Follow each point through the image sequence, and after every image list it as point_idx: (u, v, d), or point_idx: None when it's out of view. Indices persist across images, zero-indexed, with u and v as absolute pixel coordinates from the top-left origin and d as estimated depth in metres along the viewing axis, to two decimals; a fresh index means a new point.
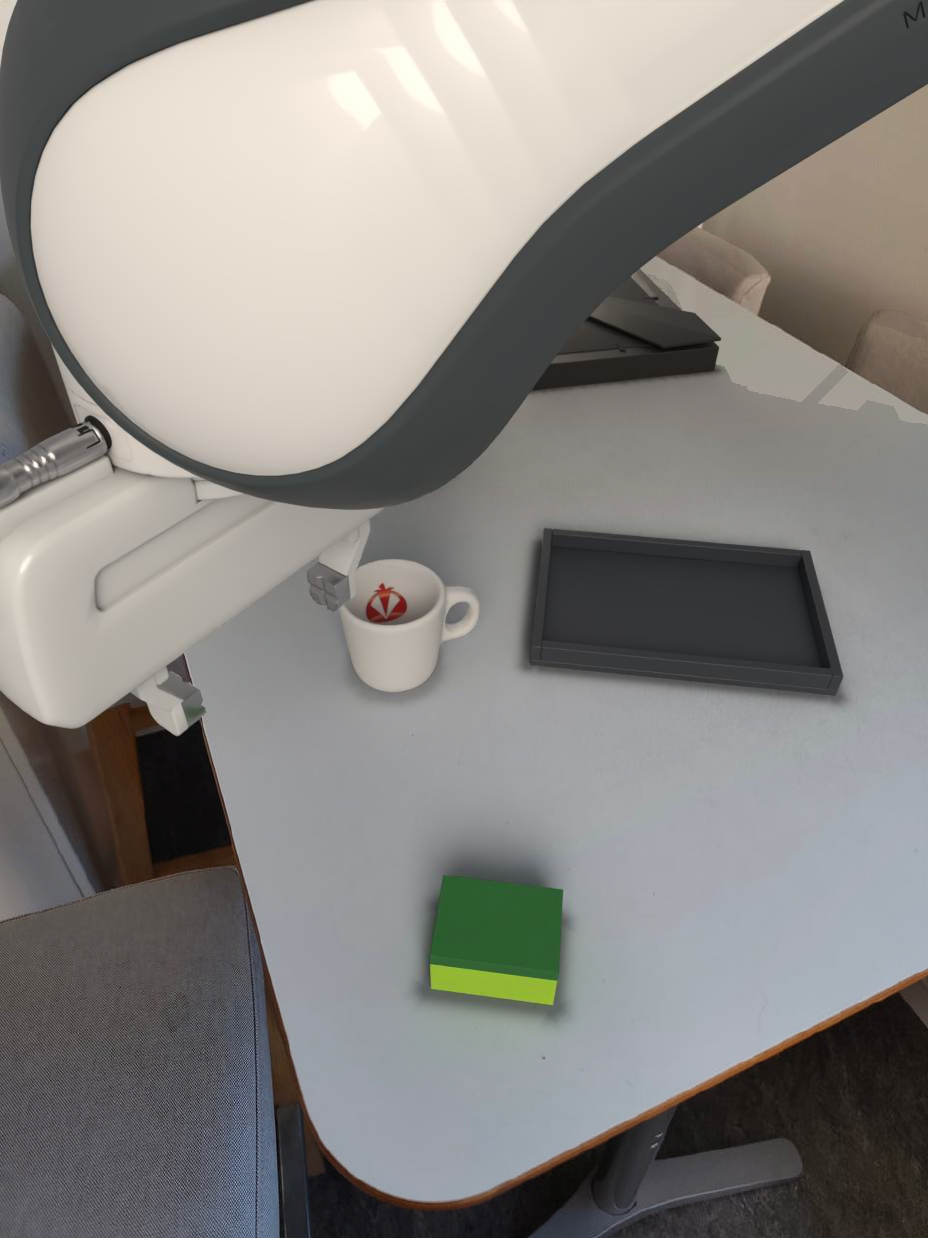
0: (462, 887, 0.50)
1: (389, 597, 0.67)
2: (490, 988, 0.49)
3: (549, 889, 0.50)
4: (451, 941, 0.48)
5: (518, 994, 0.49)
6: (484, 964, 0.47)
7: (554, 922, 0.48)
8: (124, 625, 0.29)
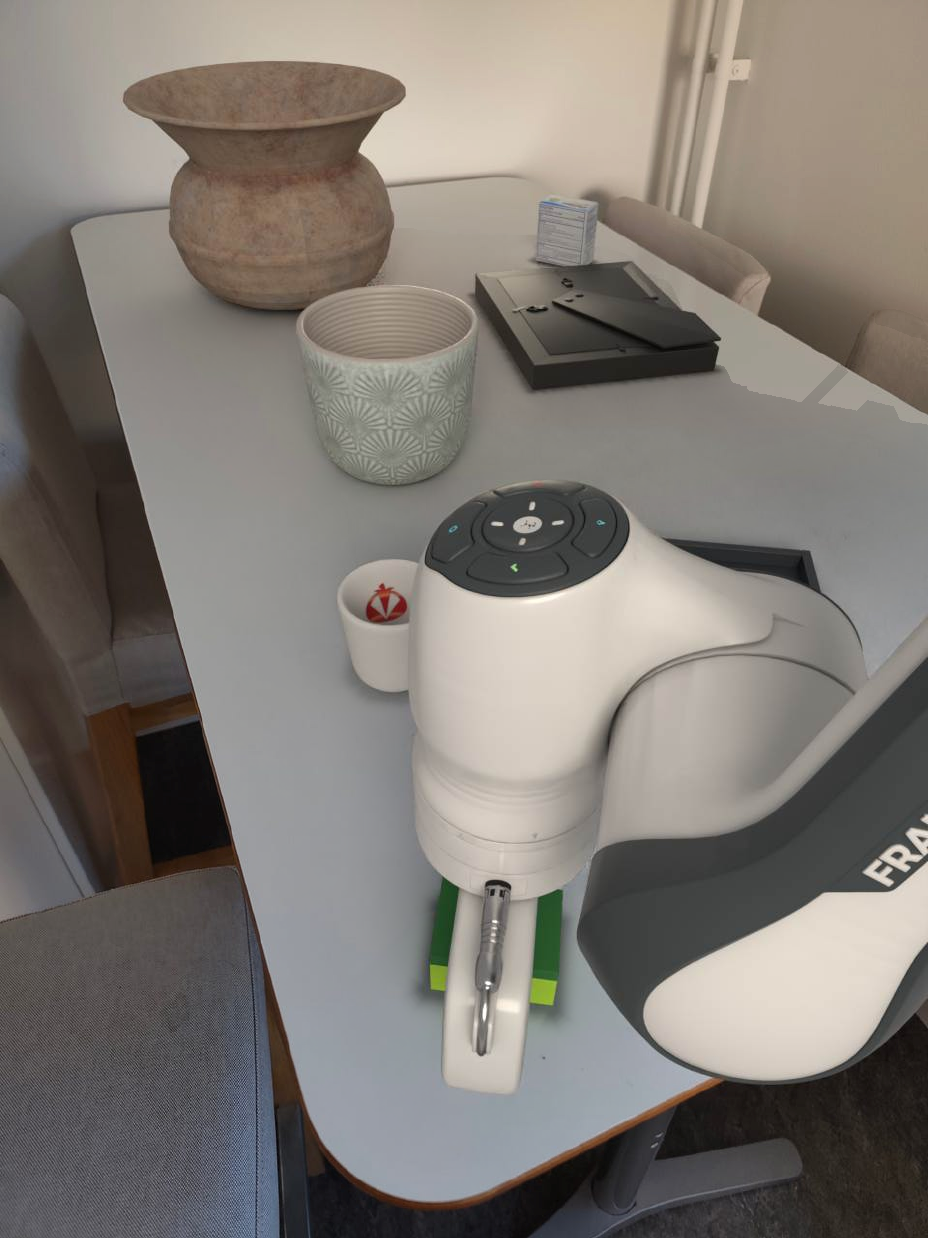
0: None
1: (389, 597, 0.67)
2: None
3: None
4: None
5: None
6: None
7: (554, 922, 0.48)
8: None
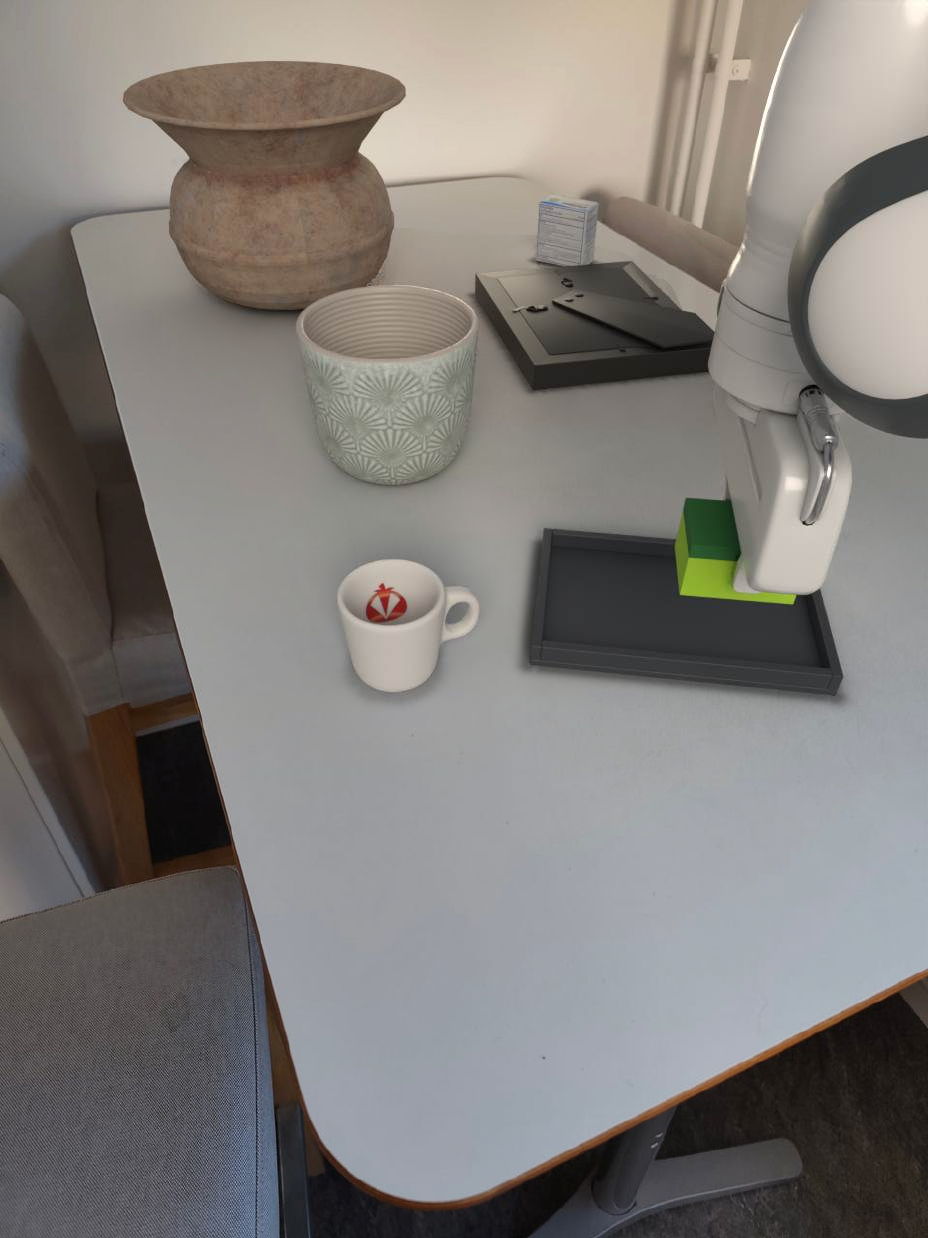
0: (706, 504, 0.55)
1: (389, 597, 0.67)
2: None
3: None
4: (708, 536, 0.52)
5: None
6: None
7: None
8: None
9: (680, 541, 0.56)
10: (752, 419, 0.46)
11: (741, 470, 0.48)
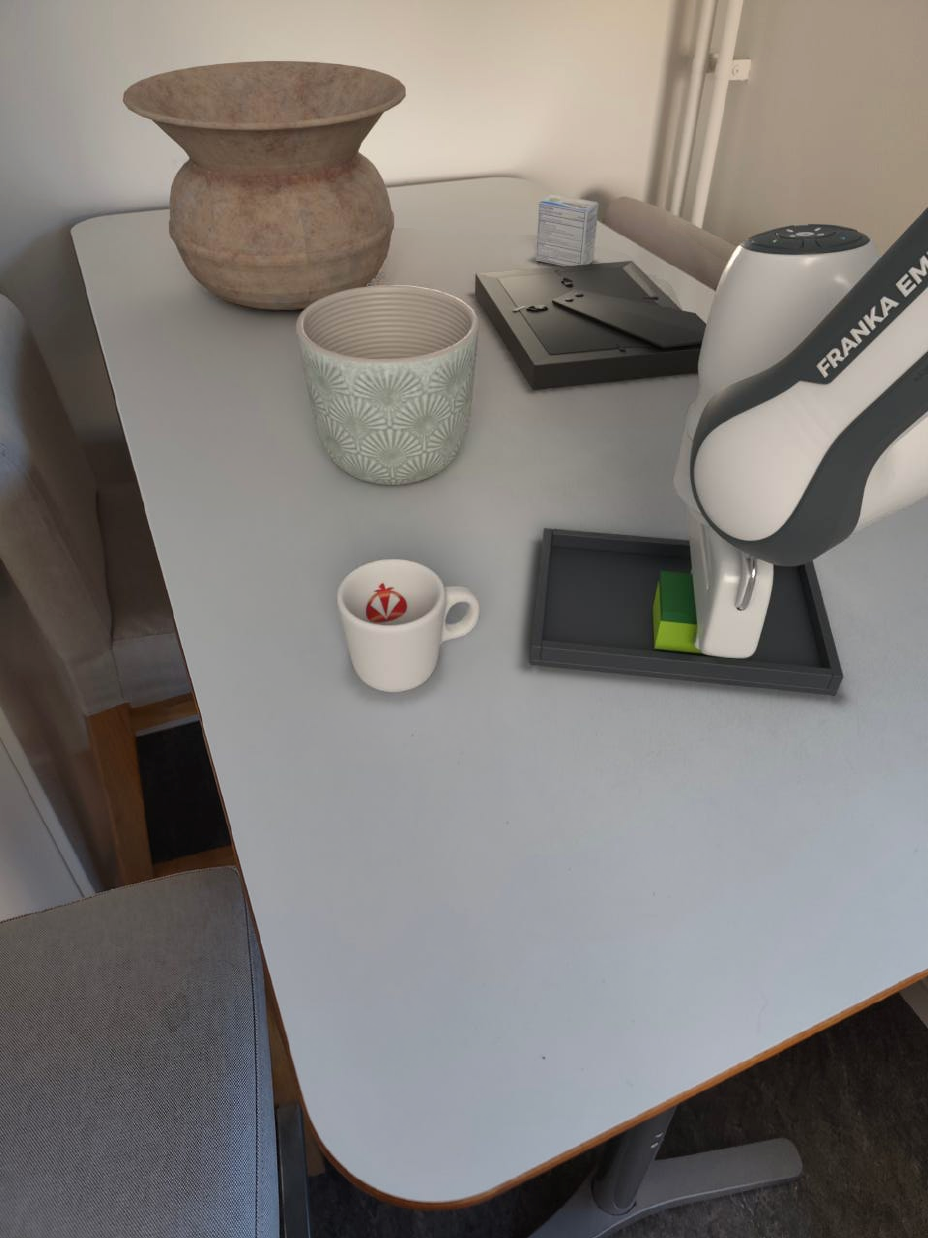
0: (676, 577, 0.70)
1: (389, 597, 0.67)
2: None
3: None
4: (676, 604, 0.67)
5: None
6: None
7: None
8: None
9: (656, 605, 0.71)
10: (706, 523, 0.61)
11: (699, 558, 0.63)
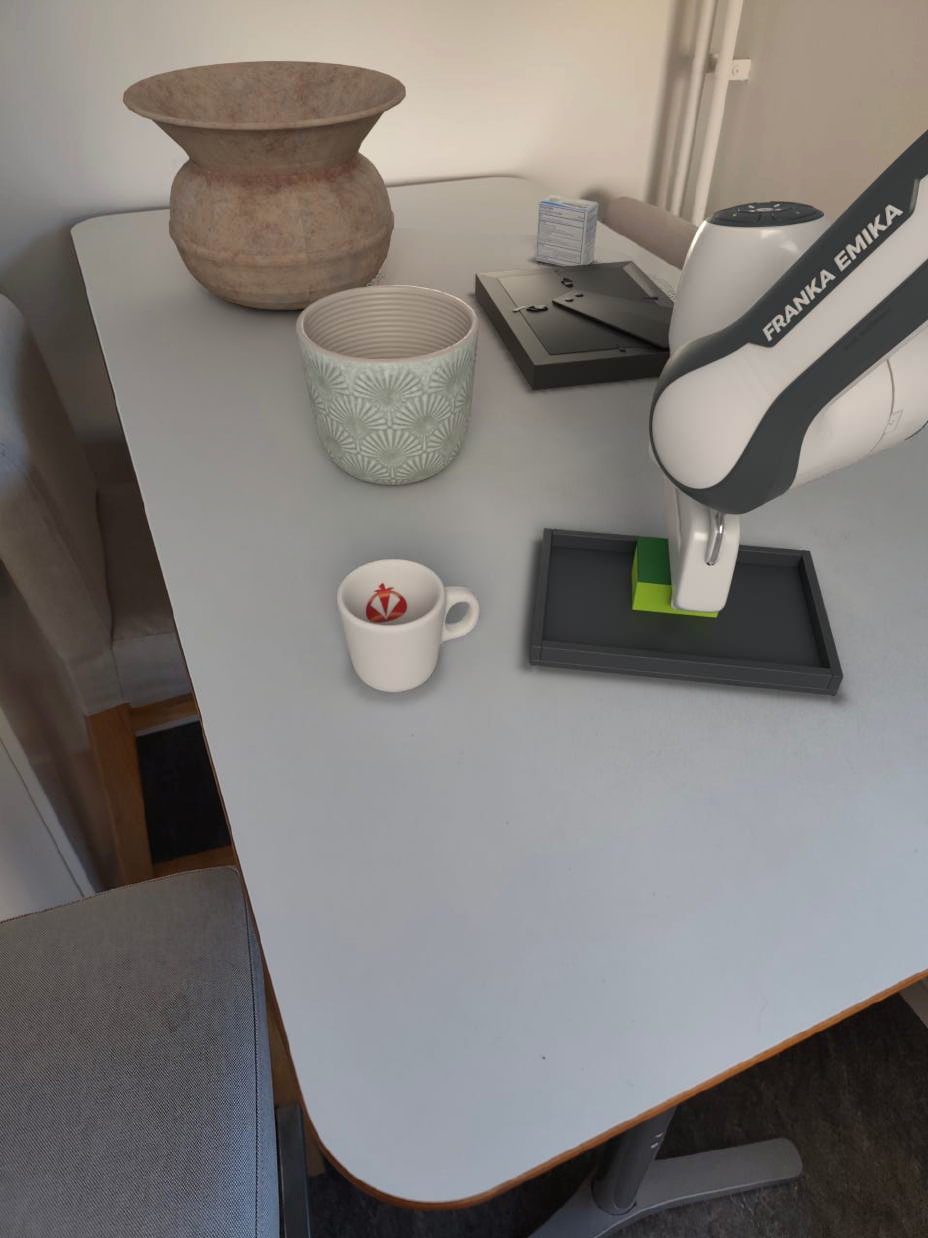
0: (653, 542, 0.73)
1: (389, 597, 0.67)
2: None
3: None
4: (652, 566, 0.71)
5: None
6: None
7: None
8: None
9: (634, 569, 0.74)
10: (678, 486, 0.64)
11: (673, 521, 0.67)
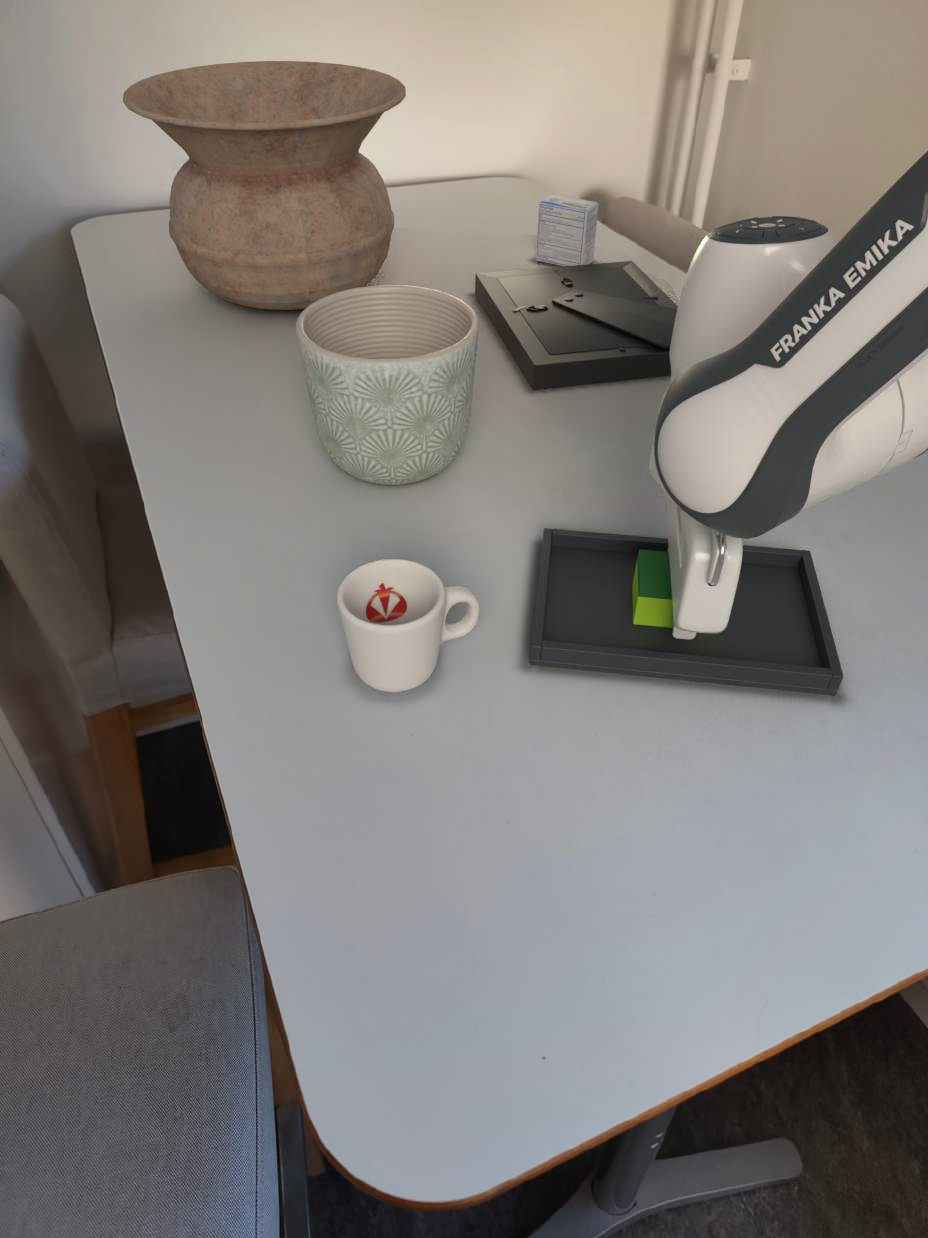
0: (654, 555, 0.72)
1: (389, 597, 0.67)
2: None
3: None
4: (653, 580, 0.69)
5: None
6: None
7: None
8: None
9: (635, 582, 0.73)
10: None
11: (674, 539, 0.66)
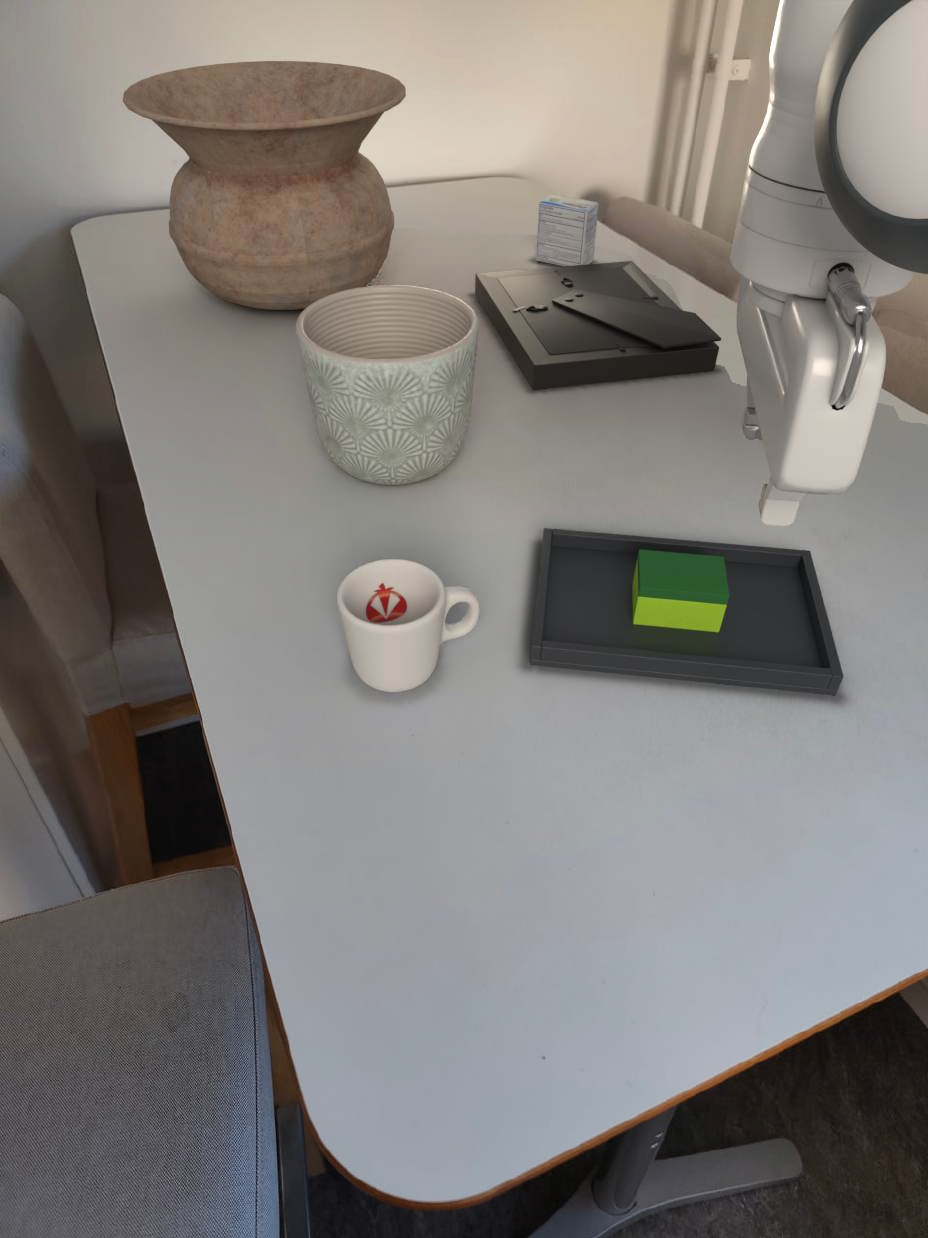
0: (654, 555, 0.72)
1: (389, 597, 0.67)
2: (677, 618, 0.70)
3: (714, 556, 0.72)
4: (653, 580, 0.69)
5: (696, 622, 0.71)
6: (677, 592, 0.69)
7: (721, 572, 0.70)
8: None
9: (635, 582, 0.73)
10: (777, 311, 0.43)
11: (766, 372, 0.46)
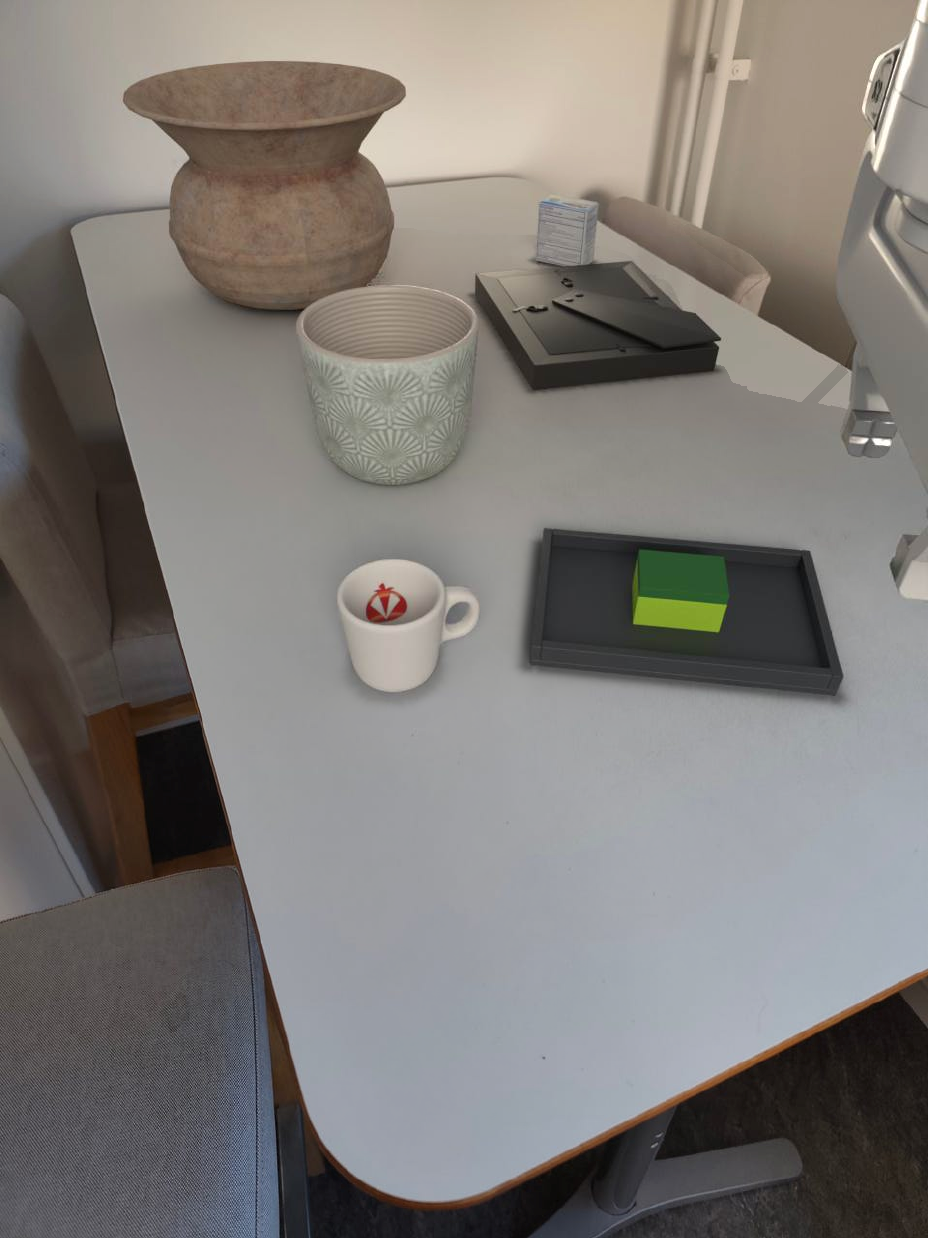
0: (654, 555, 0.72)
1: (389, 597, 0.67)
2: (677, 618, 0.70)
3: (714, 556, 0.72)
4: (653, 580, 0.69)
5: (696, 622, 0.71)
6: (677, 592, 0.69)
7: (721, 572, 0.70)
8: None
9: (635, 582, 0.73)
10: None
11: (922, 358, 0.28)
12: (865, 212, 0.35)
